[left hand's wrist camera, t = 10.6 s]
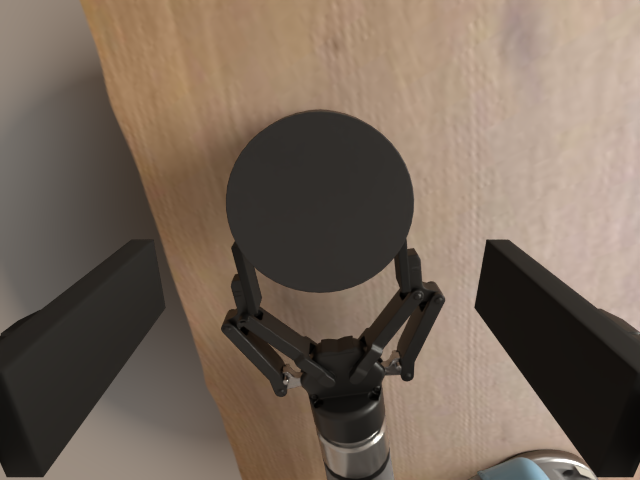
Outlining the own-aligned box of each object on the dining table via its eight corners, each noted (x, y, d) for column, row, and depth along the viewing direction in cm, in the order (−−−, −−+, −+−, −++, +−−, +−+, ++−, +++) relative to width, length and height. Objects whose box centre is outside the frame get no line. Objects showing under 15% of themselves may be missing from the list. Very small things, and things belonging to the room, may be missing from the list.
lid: (277, 299, 25) (273, 315, 23) (202, 152, 21) (191, 158, 19) (427, 245, 23) (436, 257, 21) (373, 78, 20) (379, 77, 18)
